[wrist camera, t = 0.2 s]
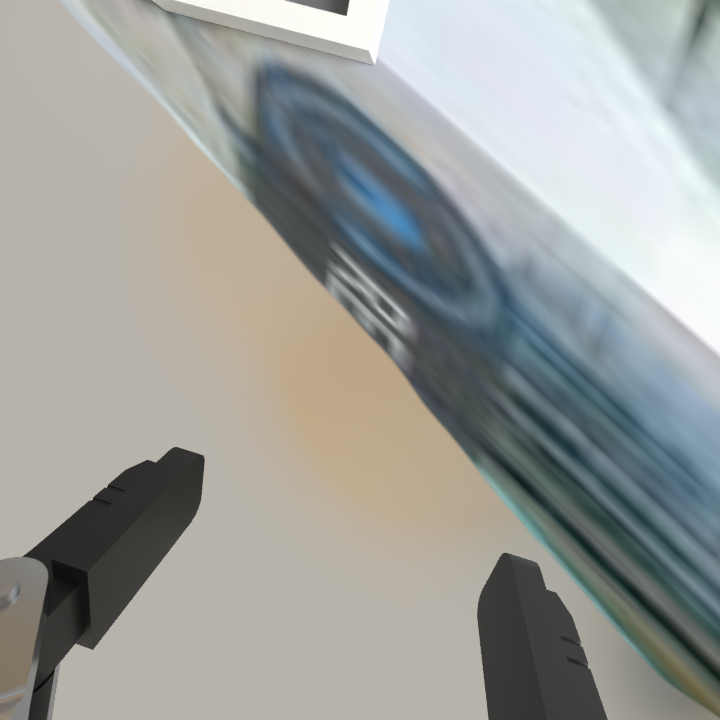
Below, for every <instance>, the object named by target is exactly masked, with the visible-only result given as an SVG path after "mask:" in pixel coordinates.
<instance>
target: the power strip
mask: <svg viewBox="0 0 720 720" xmlns="http://www.w3.org/2000/svg"><path fill="white" fill-rule="evenodd" d="M152 1H153V2H155V3H156V4H157V5H159V6H160V7H161V8H163V9H164V10H165V11H169V12H173V13H177V14H181V15H184V16H188V17H192V18H196V19H200V20H204V21H207V22H211V23H215V24H219V25H223V26H226V27H230V28H234V29H238V30H242V31H246V32H249V33H253V34H257V35H261V36H265V37H269V38H272V39H276V40H280V41H284V42H288V43H292V44H295V45H299V46H303V47H307V48H311V49H314V50H318V51H322V52H326V53H330V54H334V55H337V56H341V57H345V58H349V59H353V60H357V61H360V62H364V63H368V64H372V65H375V62H376V57H377V53H378V48H379V44H380V39H381V35H382V31H383V26H384V22H385V17H386V13H387V8H388V4H389V0H152Z"/></svg>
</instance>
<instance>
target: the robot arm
mask: <svg viewBox="0 0 720 720" xmlns="http://www.w3.org/2000/svg"><path fill="white" fill-rule="evenodd" d="M204 461H205V460H204V456H203V455H200V454H197V453H194V452H191V451H188V450H184V449H181V448H178V447H174V448H172V449H171V450H169V451H168V452H167V453H166V454H165V455H164V456H163V457H162V458H161V459H160V460H158V461H157V462H156V463H155V462H152V461H149V460H146V461H144V462H142V463H140V464H138V465H135V466H133V467H131V468H129V469H127V470H125V471H124V472H123V473H121V474H120V475H119V476H118V477H117V478H116V479H114V480H113V481H112V482H111V483H110V484H108V487H107V488H104V489H103V490H101V491H100V492H99V493H98V494H97V495H95V496H94V497H93V500H92V501H88V502H87V503H86V504H85V505H84V506H83V507H81V508H80V509H79V510H78V511H77V512H76V513H74V514H73V515H72V516H71V517H70V518H68V519H67V520H66V521H65V522H64V523H63V524H61V525H60V526H59V527H58V528H57V529H55V530H54V531H53V532H52V533H51V534H50V535H49V536H47V537H46V538H45V539H44V540H43V541H41V542H40V543H39V544H38V545H37V546H36V547H34V548H33V549H32V550H31V551H29V552H28V553H27V554H25V555H24V556H22V557H14V558H7V559H3V560H0V720H52V714H53V707H54V700H55V693H56V687H57V681H58V674H59V665H60V662H61V660H62V659H63V658H64V657H65V655H66V654H67V653H68V652H69V651H70V649H71V648H72V647H73V645H74V644H75V643H76V644H79V645H81V646H84V647H87V648H90V649H92V650H93V649H94V648H95V646H96V645H97V644H98V642H99V641H100V640H101V638H102V637H103V636H104V635H105V633H106V632H107V631H108V629H109V628H110V627H111V626H112V624H113V623H114V622H115V620H116V619H117V618H118V616H119V615H120V614H121V612H122V611H123V610H124V609H125V607H126V606H127V605H128V603H129V602H130V601H131V600H132V598H133V597H134V596H135V594H136V593H137V592H138V590H139V589H140V588H141V587H142V585H143V584H144V583H145V581H146V580H147V579H148V577H149V576H150V575H151V574H152V572H153V571H154V570H155V568H156V567H157V566H158V565H159V563H160V562H161V561H162V559H163V558H164V557H165V555H166V554H167V553H168V552H169V550H170V549H171V548H172V546H173V545H174V544H175V542H176V541H177V540H178V539H179V537H180V536H181V535H182V533H183V532H184V531H185V529H186V528H187V527H188V526H189V524H190V523H191V522H192V519H193V518H194V517H195V515H196V513H197V510H198V508H199V505H200V501H201V494H202V484H203V473H204ZM477 618H478V627H479V636H480V646H481V654H482V664H483V673H484V681H485V690H486V699H487V708H488V717H489V720H608V719H607V717H606V714H605V711H604V708H603V705H602V702H601V700H600V696H599V693H598V690H597V688H596V685H595V682H594V679H593V676H592V673H591V670H590V669H588V662H587V659H586V656H585V653H584V650H583V647H581V646H580V643H581V641H580V638H579V636H578V632H577V630H576V627H575V624H574V621H573V618H572V616H571V614H570V613H569V611H568V610H567V608H566V607H565V605H564V604H563V602H562V601H561V599H560V598H559V596H558V595H557V593H555V592H552V591H549V590H546V587H545V583H544V580H543V577H542V573H541V570H540V567H539V566H538V564H537V563H536V562H533V561H530V560H527V559H524V558H521V557H518V556H515V555H511V554H508V553H503V554H502V555H501V557H500V558H499V560H498V562H497V564H496V566H495V568H494V569H493V571H492V573H491V575H490V577H489V579H488V580H487V582H486V584H485V586H484V588H483V590H482V592H481V595H480V598H479V602H478V612H477Z"/></svg>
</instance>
